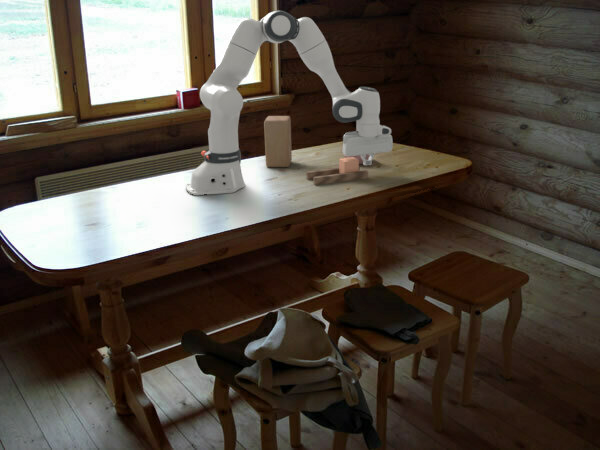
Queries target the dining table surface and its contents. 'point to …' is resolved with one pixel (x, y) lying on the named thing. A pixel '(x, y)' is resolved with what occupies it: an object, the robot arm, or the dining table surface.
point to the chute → (334, 176)
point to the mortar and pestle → (359, 158)
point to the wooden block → (278, 141)
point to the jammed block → (348, 165)
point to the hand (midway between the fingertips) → (367, 164)
